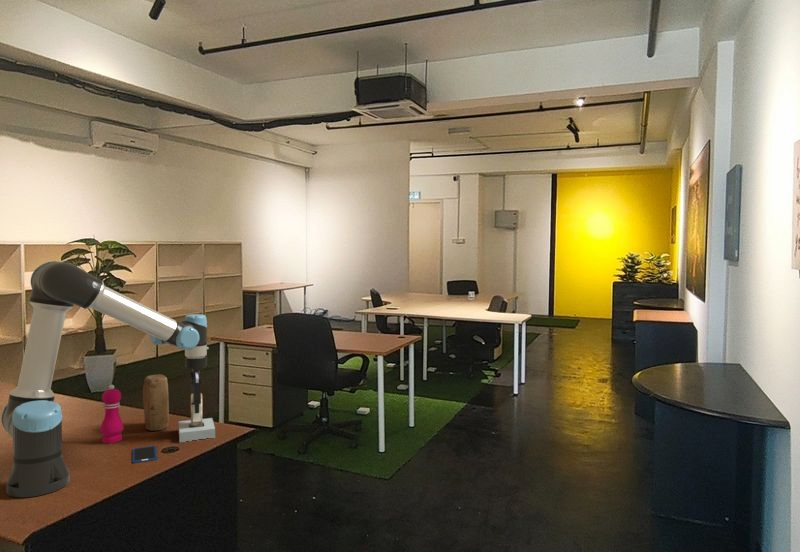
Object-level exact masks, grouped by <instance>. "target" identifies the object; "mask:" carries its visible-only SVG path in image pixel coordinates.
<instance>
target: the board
mask: <svg viewBox="0 0 800 552" xmlns="http://www.w3.org/2000/svg"><path fill="white" fill-rule="evenodd" d="M202 424H203V426H202V427H194V428H191V419H189V420H181V421H178V438H179V441H178V442H179V443H187V442H186V441H189V442H193V441H192V440H197V441H199V440H198V439H206V438H214V439H216V426H215V423H214V420H213V417H208V418H202ZM206 440H207V439H206Z"/></svg>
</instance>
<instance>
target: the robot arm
mask: <svg viewBox="0 0 800 552" xmlns="http://www.w3.org/2000/svg"><path fill="white" fill-rule="evenodd" d="M30 288H31V291H30V292H31V293H30V297H29V300H28V303H29V304H30V305H31V306H32V308H33V311H32V316H31V321H30V325H29V330H28V335H27V339H26V344H25V348H24V353H23V358H22V362H21V369H20V372H19V376H18V381H17V385H16V387H15V388H14V389H13V390H11V391H10V392H9V395H8V400H7V404H6V405H5V406H4V408H3V410H2V413H1V424H2V427H3V429H4V430H5V432H6V433H7V434H8V435H9V436H10V437H11V438H12V446H13V447H12V448H13V449H12V454H13V463H12V464H13V465H12V467H11V471H10V472H9V476H8V479H7V480H6V485H5V488H6V489H5V490H6V491H5V493H6V495H8V496H10V497H12V498H33V497H39V496H43V495H47V494H51V493H54V492H56V491H59V490H61V489H63V488H65V487H66V486H67V485H68V484H69V483H70V476H71V475H70V471H69V469H68V466H67V463H66V461H65V459H64V457H63V427H62V426H63V423H62V421H63V412H62V407H61V405H60V404H59V403H58V402H55V397H56V394H55V393H54V391H53V390H52V389H51V388H52V383H53V379H54V373H55V368H56V363H57V359H58V354H59V349H60V344H61V339H62V334H63V329H64V325H65V320H66V315H67V313H68V311H70V310H72V309H73V308H74V305H75V306H77V307H79V308H81V309H85V310H88V309H92V310H95V311H96V312H99V313H101V314H104V315H106V316H108V317H110V318H113V319H115V320H117V321H119V322H120V323H123V324H125V325H128V326H130V327H132V328H135V329H137V330H139V331H140V332H143V333H146V334H147V335H149V338H150V342H151V344H153V345H154V346H157V345H160V346H162V345H169V346H172V347H175V348H179V349H180V350H184V356H185V359H184V360H185V361H184V367H185V368H186V369H189V370H191V371H190V374H189V375H190V383H191V394H193V403H191V402H190V406H191V405H193V422H199V421H201V393H202V381H203V379H202V378H203V371H201V369H204V368H206V367H207V366H208V356H207V353H208V351H207V350H209V348H210V347H209V346H207V345H208V340H207V339H208V320H207V316H206V315H205V314H203V313H202V314H198V313H196V314H194V313H193V314H191V313H190V314H187V315H185V317H184V320H181V321H177V320H175V319H173V318H171V317H169V316H167V315H165V314H163V313H161V312H159V311H157V310H154V309H153V308H151V307H148V306H147V305H145V304H142V303H140V302H139V301H137V300H135V299H132V298H130V297H128V296H126V295H125V294H122V293H120V292H119V291H116V290H114V289H112V288H110V287H107V286H106V285H105V284H104V281H103V280H101V279H100V278H97V277H95V276H94V275H92V274H90V273H89V272H87V271H85V270H84V269H82V268H81V267H79V266H77V265H76V264H73V263H70V262H63V261H56V260H52V261H48V262H45V263H42V264H40V265H39V266H38V267H36V268H35V269H34V270H33V272H32V274H31V276H30Z"/></svg>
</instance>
